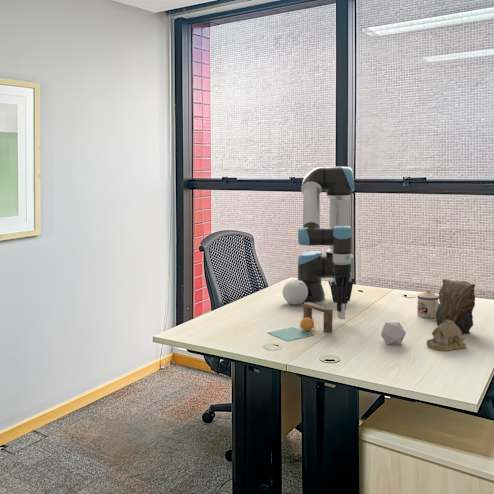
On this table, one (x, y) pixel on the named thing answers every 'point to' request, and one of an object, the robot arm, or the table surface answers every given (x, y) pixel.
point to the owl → (456, 304)
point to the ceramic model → (446, 337)
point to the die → (393, 333)
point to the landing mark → (290, 334)
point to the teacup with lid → (427, 304)
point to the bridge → (326, 315)
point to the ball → (307, 324)
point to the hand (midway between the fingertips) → (341, 318)
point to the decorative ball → (295, 292)
